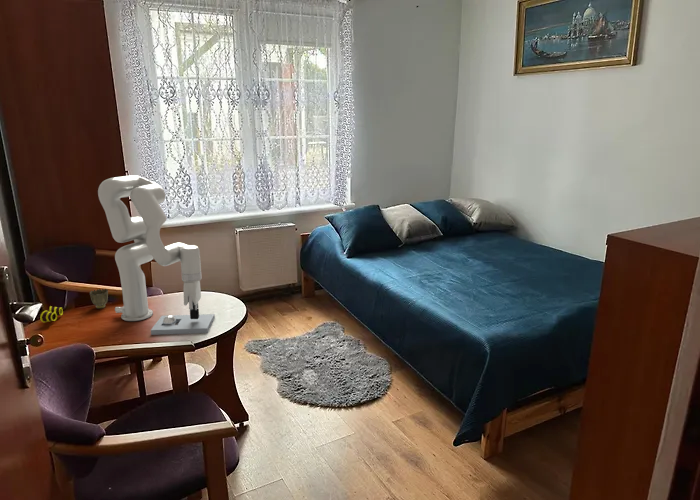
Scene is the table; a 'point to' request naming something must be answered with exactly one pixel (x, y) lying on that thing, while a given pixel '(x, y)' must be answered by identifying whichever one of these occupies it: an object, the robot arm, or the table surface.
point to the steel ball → (169, 320)
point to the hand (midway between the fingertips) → (194, 318)
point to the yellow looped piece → (51, 314)
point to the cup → (99, 298)
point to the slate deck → (184, 325)
